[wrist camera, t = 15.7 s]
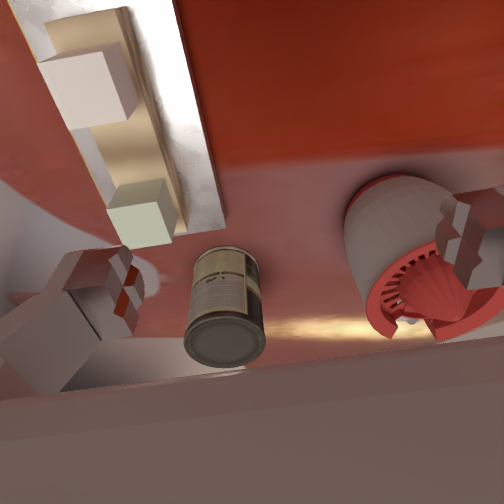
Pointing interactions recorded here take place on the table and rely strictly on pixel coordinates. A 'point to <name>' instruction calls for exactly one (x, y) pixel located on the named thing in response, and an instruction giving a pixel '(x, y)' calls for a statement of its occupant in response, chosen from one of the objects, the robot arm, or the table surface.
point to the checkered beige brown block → (142, 119)
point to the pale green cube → (143, 213)
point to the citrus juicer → (409, 261)
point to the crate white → (91, 85)
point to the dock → (164, 89)
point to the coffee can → (225, 309)
